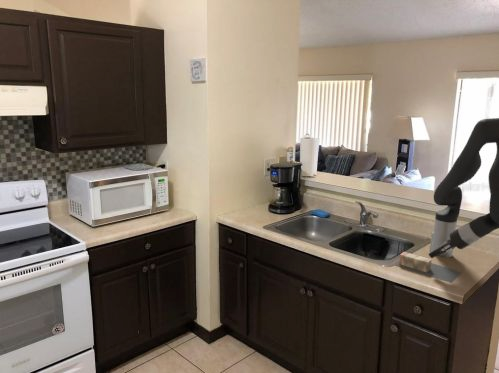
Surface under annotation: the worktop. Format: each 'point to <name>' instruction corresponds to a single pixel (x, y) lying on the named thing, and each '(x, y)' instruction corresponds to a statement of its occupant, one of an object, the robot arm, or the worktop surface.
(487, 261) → the worktop surface
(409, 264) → the birch block
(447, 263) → the worktop surface
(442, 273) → the rubber mat
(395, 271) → the worktop surface
